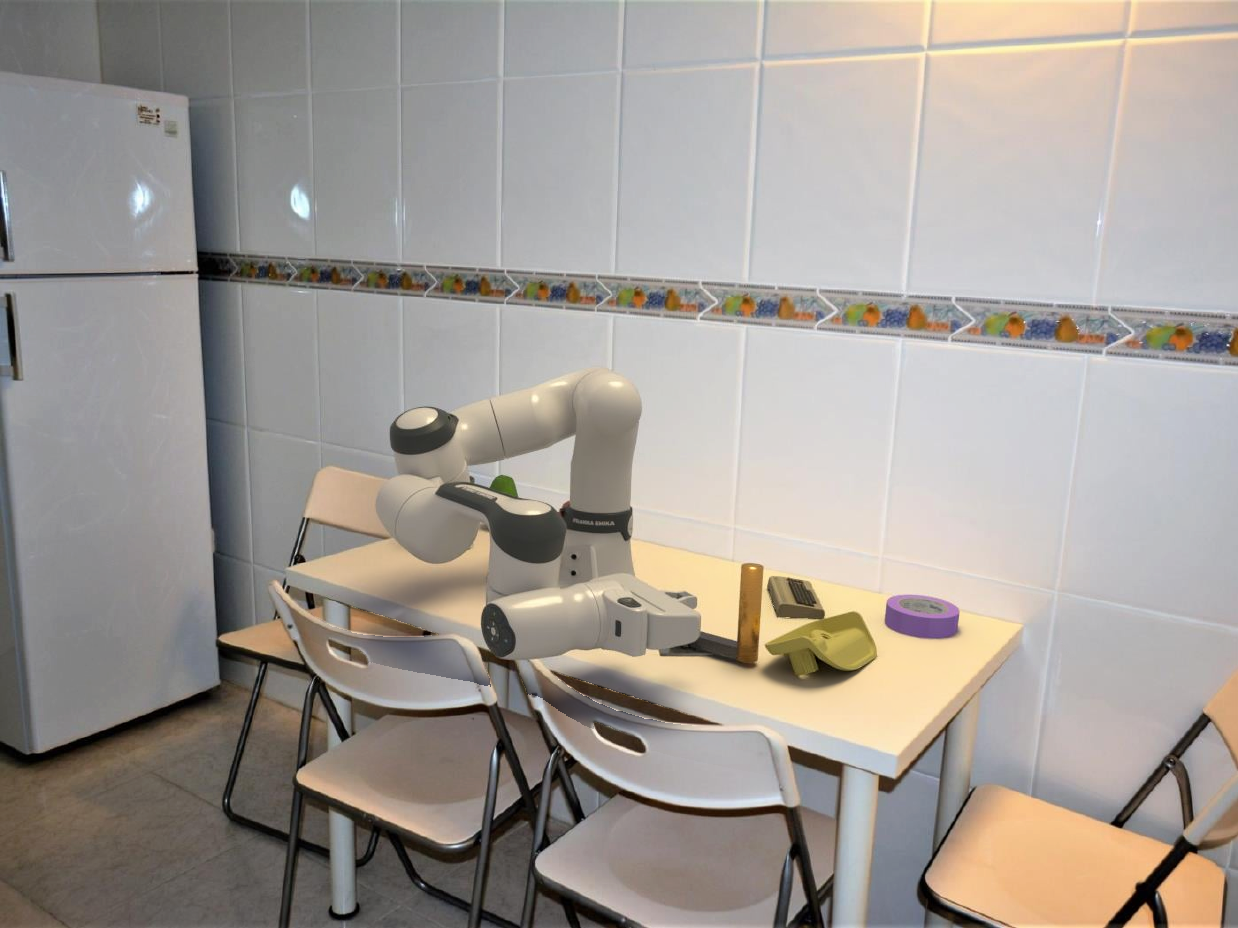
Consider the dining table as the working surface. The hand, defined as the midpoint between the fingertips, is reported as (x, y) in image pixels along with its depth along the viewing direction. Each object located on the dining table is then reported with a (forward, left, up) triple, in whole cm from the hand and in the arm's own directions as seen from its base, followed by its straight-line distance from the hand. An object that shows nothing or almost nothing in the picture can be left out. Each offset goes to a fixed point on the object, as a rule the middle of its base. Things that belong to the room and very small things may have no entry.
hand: (691, 599), depth 142 cm
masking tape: (+33, +34, -12) cm, 49 cm away
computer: (+12, +39, -13) cm, 43 cm away
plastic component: (+17, +12, -12) cm, 25 cm away
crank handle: (+2, +11, -11) cm, 15 cm away
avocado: (-54, +69, -12) cm, 89 cm away
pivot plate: (-3, +12, -12) cm, 17 cm away
